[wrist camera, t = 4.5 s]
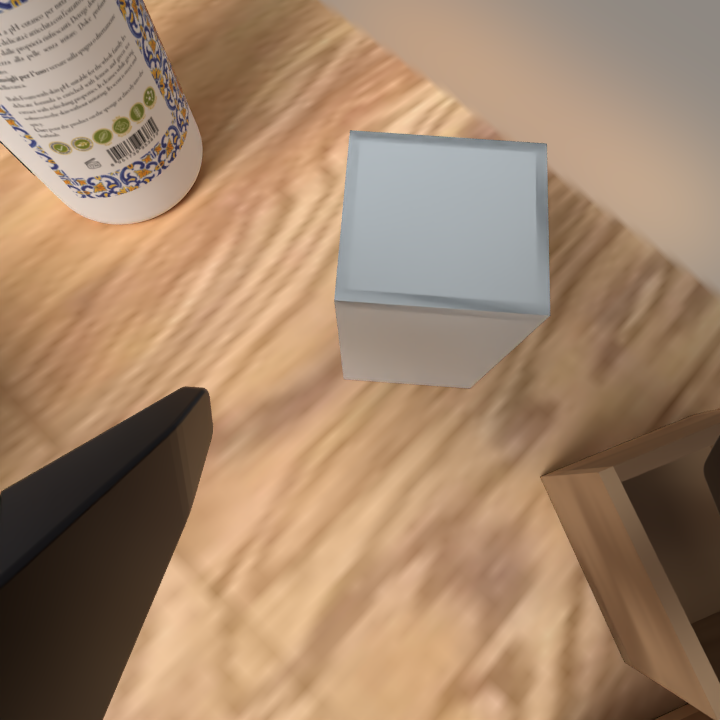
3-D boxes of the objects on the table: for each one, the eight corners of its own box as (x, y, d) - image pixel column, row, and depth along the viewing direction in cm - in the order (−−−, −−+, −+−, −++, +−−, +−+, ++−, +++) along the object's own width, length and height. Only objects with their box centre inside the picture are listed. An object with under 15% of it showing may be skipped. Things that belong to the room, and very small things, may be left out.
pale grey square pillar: (469, 388, 21) (550, 315, 12) (343, 378, 21) (334, 300, 12) (472, 280, 22) (546, 143, 13) (352, 271, 22) (349, 130, 14)
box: (789, 587, 19) (936, 620, 14) (624, 661, 18) (719, 722, 14) (695, 414, 21) (798, 390, 16) (540, 476, 20) (598, 472, 15)
